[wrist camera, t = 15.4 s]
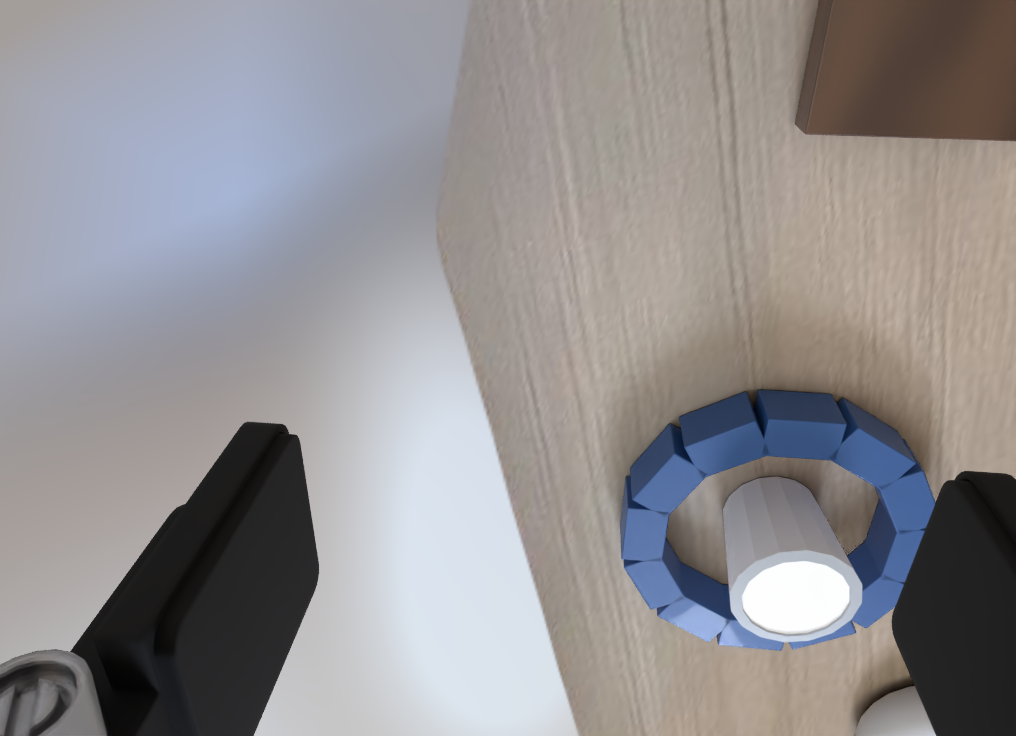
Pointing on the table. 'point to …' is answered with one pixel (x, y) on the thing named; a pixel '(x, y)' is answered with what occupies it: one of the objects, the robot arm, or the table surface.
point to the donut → (896, 716)
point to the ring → (746, 437)
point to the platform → (912, 70)
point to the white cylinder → (786, 563)
